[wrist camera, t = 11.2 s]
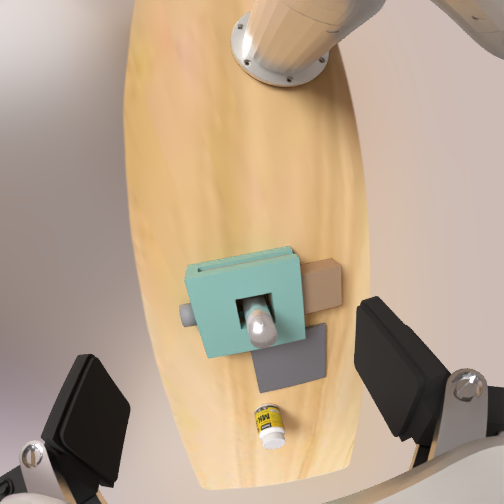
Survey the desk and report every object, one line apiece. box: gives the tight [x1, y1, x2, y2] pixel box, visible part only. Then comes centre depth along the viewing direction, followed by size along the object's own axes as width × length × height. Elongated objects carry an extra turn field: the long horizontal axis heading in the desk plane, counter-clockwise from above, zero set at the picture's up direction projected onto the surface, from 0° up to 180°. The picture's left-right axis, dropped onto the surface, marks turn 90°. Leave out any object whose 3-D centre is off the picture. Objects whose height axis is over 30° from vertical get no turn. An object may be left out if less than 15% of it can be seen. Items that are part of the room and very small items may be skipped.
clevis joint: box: [180, 246, 342, 358], centre depth 36 cm, size 22×12×4 cm, turn 99°
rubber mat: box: [251, 323, 326, 393], centre depth 42 cm, size 12×12×1 cm
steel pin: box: [241, 294, 278, 348], centre depth 33 cm, size 3×3×10 cm
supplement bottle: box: [255, 404, 285, 449], centre depth 43 cm, size 5×5×8 cm
